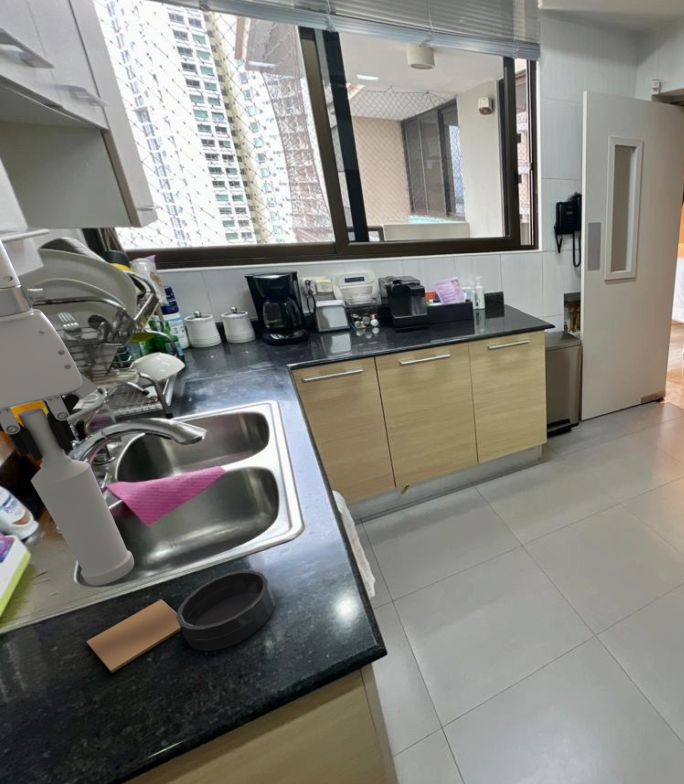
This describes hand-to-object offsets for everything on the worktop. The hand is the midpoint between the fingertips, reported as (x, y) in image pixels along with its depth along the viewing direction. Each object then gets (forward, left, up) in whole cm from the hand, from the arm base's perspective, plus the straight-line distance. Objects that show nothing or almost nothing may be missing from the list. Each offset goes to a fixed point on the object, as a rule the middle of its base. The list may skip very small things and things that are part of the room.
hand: (50, 451), depth 58 cm
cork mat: (0, 0, -32) cm, 32 cm away
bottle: (0, 0, -20) cm, 20 cm away
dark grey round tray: (+9, +8, -32) cm, 34 cm away
